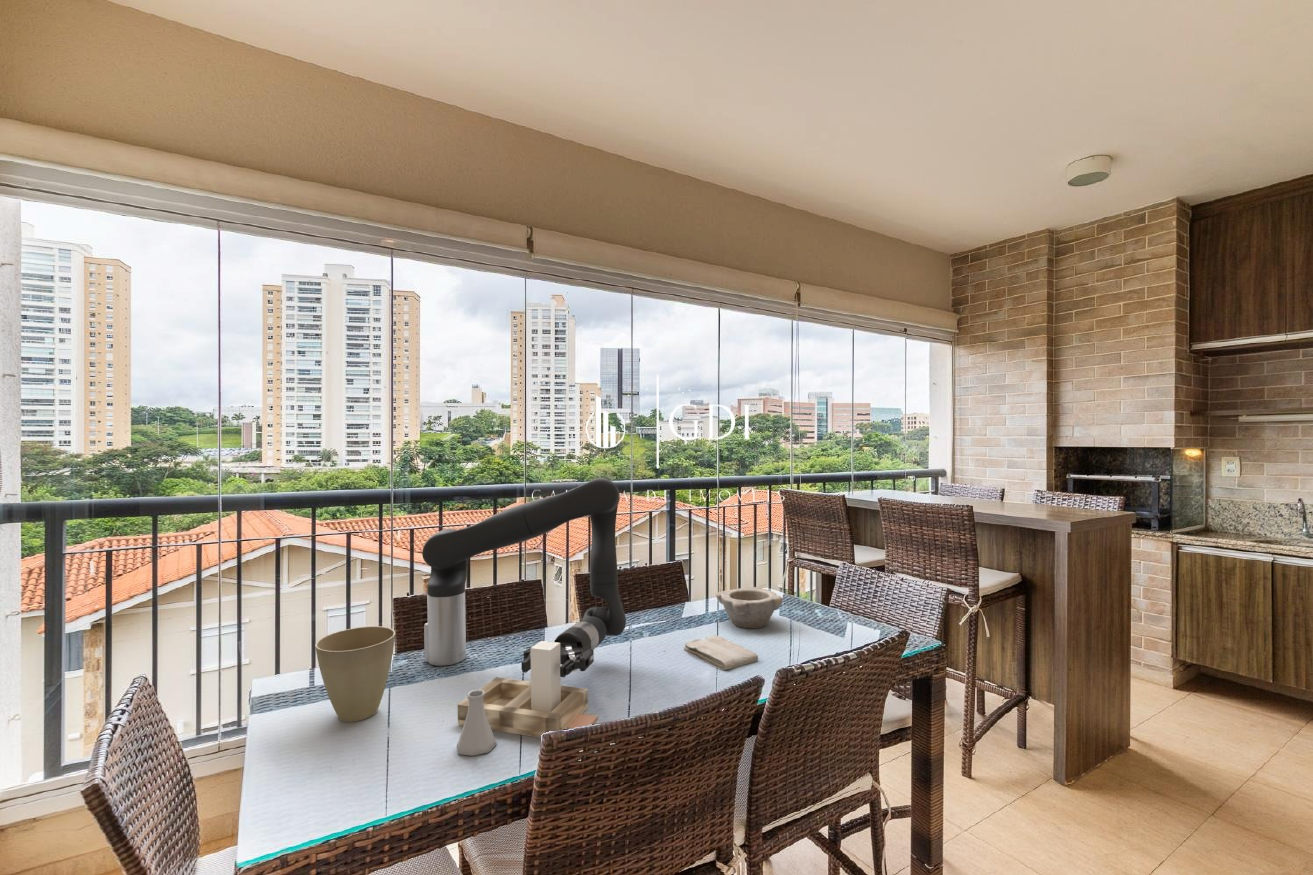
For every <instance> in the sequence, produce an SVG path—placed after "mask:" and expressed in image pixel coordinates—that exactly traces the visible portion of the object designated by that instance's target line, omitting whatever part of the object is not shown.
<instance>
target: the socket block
mask: <svg viewBox="0 0 1313 875" xmlns="http://www.w3.org/2000/svg"><path fill="white" fill-rule="evenodd" d="M478 690H484V692H485V696H484V697H483V704H484V710H485V714H486V717H487V720H488V723H489V725H490V728H491V730H492V731H495V732H496V731H497V732H504V733H508V734H515V735H516V734H517V735H522V736H529V737H534V738H541V735H542V734H543V733H546V732H549V731H559V730H563V729H569V728H575V727H582V726H588V725H590V724H593V725H594V724H595V723H596V722H597V721H598V719H599V715H593V714H586V713H584V712H585V711H587V709H588V708H589V706H588V705H589V700H588V697H589V696H588V695H589V694H588V688H584V687H576V686H575V687H574V686H566V685H561V703H560V704H559V705H558V706H557V707H556V708H555V709H554V710H553V711H552V712H551V713H548V712H541V711H535V710H531V680H530V681H529V680H523V679H521V680H520V679H512V678H504V677H499V676H498V677H497V676H496V677H494V678H493V679H492V680H490V681H489V682H488V683H486V684H484V685H483V686H482V687H480V688H479V689H478ZM468 707H469V699H468V697H466V698H465V699H463V700H462V701H461V702H459V703H458V704H457V725H459V726H464V723H465V720H466V717H467V713H468ZM541 739H542V738H541Z"/></svg>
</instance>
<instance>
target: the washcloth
mask: <svg viewBox="0 0 1313 875" xmlns="http://www.w3.org/2000/svg"><path fill="white" fill-rule="evenodd" d="M684 645H685V646H684V647H683V650H685V651H686V652H687V653H689V654H690V655H692V656H693V657H695V658H697V659H699V660H700V661H703V662H705V663H706V664H709V665H711V666H712V667H715V668H717V669H719V670H722V671H727V670H732V669H734V668H736V667H739V666H740V667H741V666H745V665H748V664H752V663H755V662H757V661H759V656H758V654H757V653H756V652H754V651H752V650H750V649H748V648H745V647H743V646H742V645H739V644H738V643H735V642H733V641H732V640H728V639H726V638H724V637H722V636H720V635H711V636H709V637H706V638H702V639H701V638H700V639H693V640H691V641H687V642H685V643H684Z"/></svg>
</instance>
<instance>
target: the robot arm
mask: <svg viewBox="0 0 1313 875" xmlns="http://www.w3.org/2000/svg"><path fill="white" fill-rule="evenodd" d="M620 497H621V495H620V490H619V488H618V486H617V485H616V484H615V483H614V482H613V481H612V480H610V479H608V478H606V477H597V478H593V479H592V480H589V481H587V482H585V483H583V484H581V485H579V486H576V487H574V488H571V489H569V490H567V491H564V492H562V493H559V494H555V495H551V496H546V497H542V498H538V499H534V500H531V501H528V502H525V503H524V502H523V503H522V504H518V505H515V506H513V507H510V508H508V509H504V510H502V511H500V512H498V513H496V514H494V515H491V516H490V517H487V518H486V519H484V520H481V521H480V522H477V523H475V524H472V525H470V526H466V527H464V528H459V529H454V528H445V529H442V530H439V531H438V532H435V533H434V534H433V535H431V536H430V537H429V538H428V539H427V540H426V542H425V543H424V545H423V547H422V552H421V554H422V558H423V561H424V562H425V564H426V565H427V566H429V567H430V575H429V579H428V581H427V585H426V592H427V593H426V598H427V603H426V604H427V622H426V623H424V625H423V627H424V628H423V629H424V630H423V631H424V632H423V634H424V635H423V636H424V637H423V638H424V641H423V642H424V644H423V646H424V650H423V652H424V662H426V663H428V664H429V665H431V666H432V665H433V666H440V667H441V666H451V665H455V664H458V663H460V662H463V661H464V660H465V659H466V657H467V648H466V647H467V646H466V644H467V642H466V640H467V638H466V636H467V635H466V631H467V630H466V628H467V627H466V582H467V579H468V578H467V577H468V559H470V558H472V557H473V558H474V556H477V555H480V554H482V553H485V552H490V551H494V550H497V549H502V548H505V547H511V546H512V545H516V544H520V543H523V542H525V541H529V540H532V539H534V538H538V537H541V536H543V535H545V534H546V533H549V532H550V531H553V530H555V529H557V528H558V527H560V526H562V525H564V524H566V523H568V522H570V521H573V520H576V519H580V518H584V517H588V516H589V517H590V524H591V546H590V558H589V585H590V586H589V591H590V595H592V597H595V598H599V599H603V600H604V601H605V603H606V604H607V606H593V607H592V606H591V607H590V608H588V609H587V610H586V611H585V612H584V615H583V617H582V619H581V620H580V621H579V622H577V623H574V624H573V625H571V626H570V627H568V628H567V629H565V630H564V631H563V632H562V633H559V635H558V636H557V637H556V638H555V640H554V641H553V642H557V643H560V677H561V678H565V677H566V676H568V675H570V674H571V673H572V672H576V671H577V670H579V671H580V672H586V671H587V670H588V669H589V667H591V665H592V664H593V663H594V661H595V659H594V658H595V656H594V655H595V653H594V652H595V651H594V650H595V649H596V648H597V647H598V646H599V645H601V643H602V642H604V640H605V639H606V636H607V637H610V636H611V637H615V636H620V635H621V634H622V633H623V632H624V630H625V628H626V624H627V619H626V618H627V617H626V613H625V610H624V607H623V603H622V600H621V597H620V592H619V585H618V584H619V583H618V582H619V581H618V561H617V560H618V559H617V544H616V525H617V524H616V523H617V513H618V507H619V504H620ZM532 647H533V646H531V647H529V648H527V649H526V650H524V651H523V660H522V661H521V664H520V665H521V666H520V669H521V671H522V673H525V674H526V673H528V672H529V671H531V648H532Z"/></svg>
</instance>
